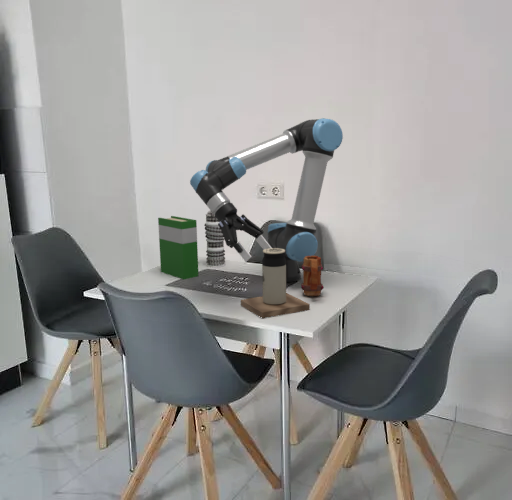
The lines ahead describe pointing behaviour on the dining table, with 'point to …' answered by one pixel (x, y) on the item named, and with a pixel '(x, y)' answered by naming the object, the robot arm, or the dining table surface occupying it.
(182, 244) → the hardback book
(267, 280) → the travel mug
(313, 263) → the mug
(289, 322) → the dining table surface
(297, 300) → the walnut board
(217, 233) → the decorative candle
